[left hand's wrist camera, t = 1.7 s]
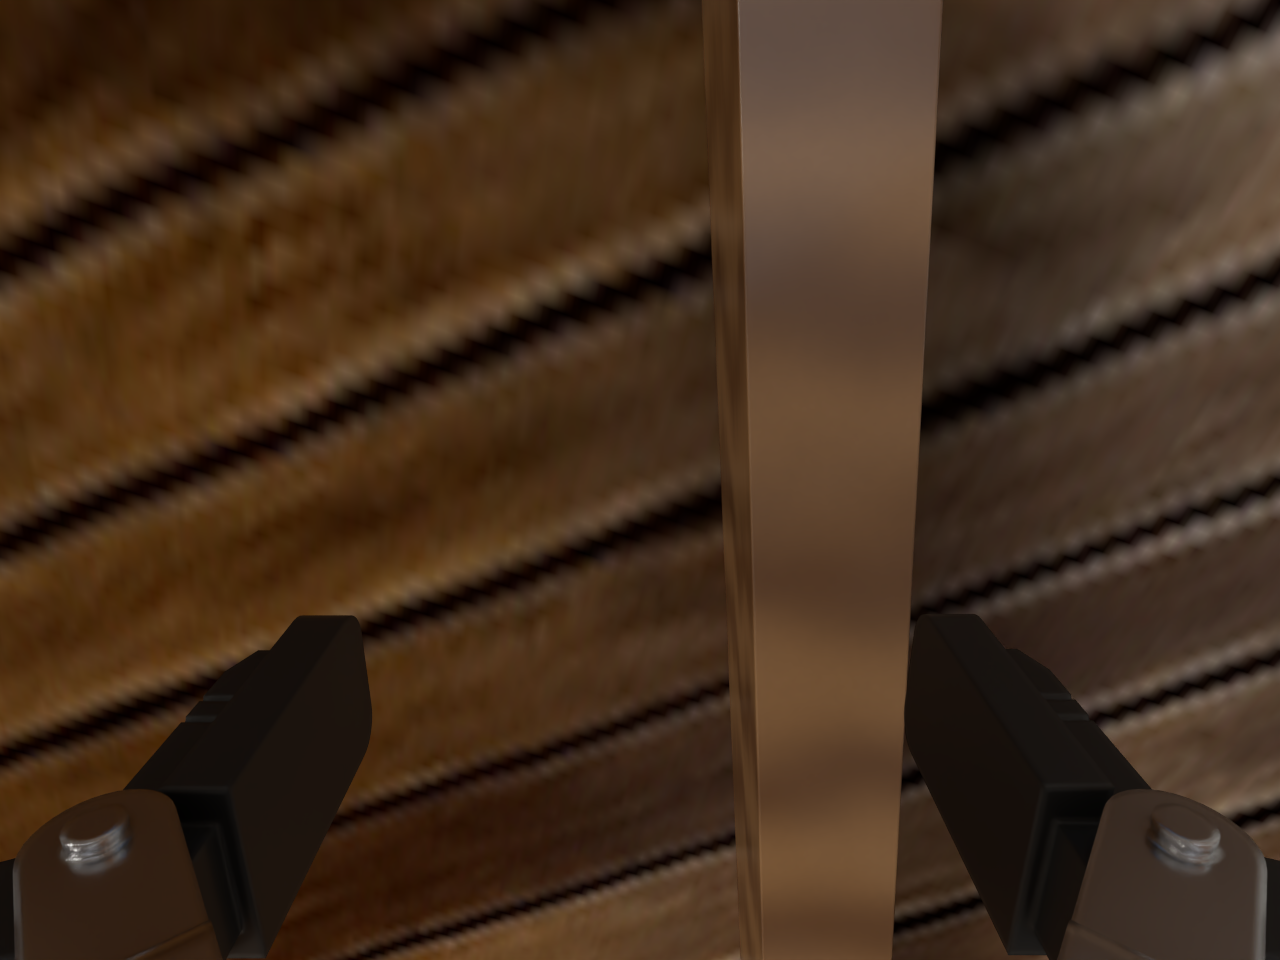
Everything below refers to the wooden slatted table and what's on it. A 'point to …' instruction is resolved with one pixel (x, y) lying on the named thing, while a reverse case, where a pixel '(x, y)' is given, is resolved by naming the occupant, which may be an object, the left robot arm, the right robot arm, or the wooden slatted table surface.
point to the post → (819, 443)
